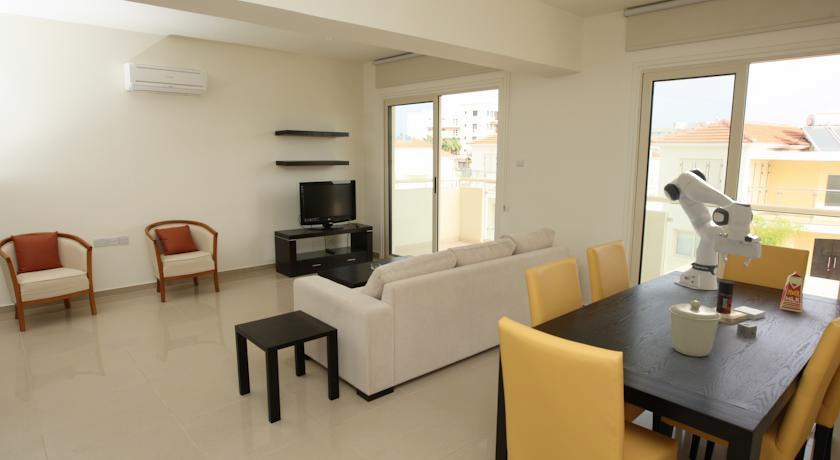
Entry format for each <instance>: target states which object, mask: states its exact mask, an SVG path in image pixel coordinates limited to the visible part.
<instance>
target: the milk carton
mask: <svg viewBox="0 0 840 460" xmlns="http://www.w3.org/2000/svg"><path fill="white" fill-rule="evenodd" d="M803 279H804V277H803V276H801V275H799V274H797V271H794V273H792V274H790V275H787V279H786V281H785V283H784V287H783V291H782V295H781V299H780V304H779V305H780V306H779V309H780V310H785V311H791V312H797V313H803Z"/></svg>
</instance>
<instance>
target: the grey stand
mask: <svg viewBox="0 0 840 460" xmlns="http://www.w3.org/2000/svg"><path fill="white" fill-rule="evenodd" d="M732 310H733V311H737V312H741V313H744V314H748V318H747V320H748V319H749V320H752V321H756V320H759V319H762V318H765V316H766V311H765V310H760V309H756V308H752V307H750V306H749V307H748V306H745V305H742V306H738V307H735V308H733V309H732Z"/></svg>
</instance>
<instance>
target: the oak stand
mask: <svg viewBox="0 0 840 460" xmlns="http://www.w3.org/2000/svg"><path fill="white" fill-rule="evenodd" d="M710 308H711V309H714V310H715V311H716V308H717V306H714V307H710ZM719 314H721V313H719ZM747 320H748V314H744V313H741V312H737V311H733V309H731V313H730V314H721V319H719V322H722V323H726V324H728V325H734V324H736V323H737V324H738V323H742V322H744V321H747Z"/></svg>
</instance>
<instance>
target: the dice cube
mask: <svg viewBox="0 0 840 460" xmlns="http://www.w3.org/2000/svg"><path fill="white" fill-rule="evenodd" d="M736 328H737V329H736V335H738V336H740V337H743V338H746V339H751V338H752V339H753V338H757V331H758V330H757V329H758V325H755V324H752V323H750V322H747V321H746V322H738V323H737V327H736Z"/></svg>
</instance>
